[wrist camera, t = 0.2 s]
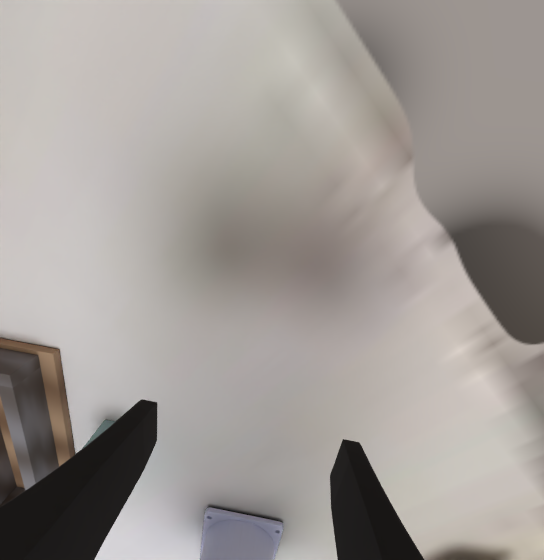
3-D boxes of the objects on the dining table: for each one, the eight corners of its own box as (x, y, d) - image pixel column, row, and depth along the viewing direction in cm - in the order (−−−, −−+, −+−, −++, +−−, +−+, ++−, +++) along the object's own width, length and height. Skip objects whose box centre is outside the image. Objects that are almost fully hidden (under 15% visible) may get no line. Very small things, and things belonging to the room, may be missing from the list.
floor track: (82, 502, 30) (60, 535, 27) (2, 485, 31) (-28, 517, 28) (59, 349, 23) (25, 373, 20) (-46, 329, 23) (-93, 350, 20)
